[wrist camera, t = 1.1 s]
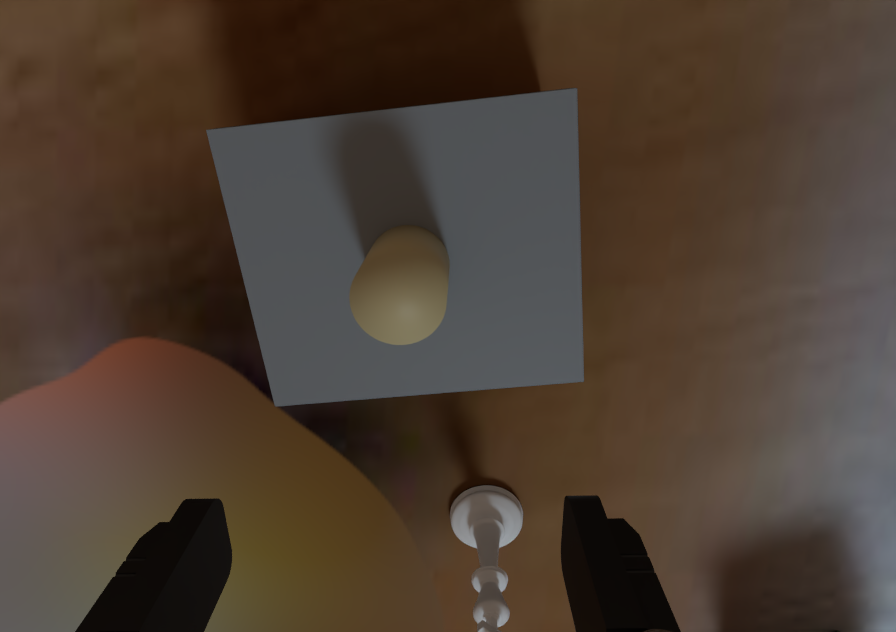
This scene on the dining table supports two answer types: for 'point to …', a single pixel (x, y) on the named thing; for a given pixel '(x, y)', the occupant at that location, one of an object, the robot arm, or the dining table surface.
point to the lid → (411, 246)
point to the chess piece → (487, 546)
